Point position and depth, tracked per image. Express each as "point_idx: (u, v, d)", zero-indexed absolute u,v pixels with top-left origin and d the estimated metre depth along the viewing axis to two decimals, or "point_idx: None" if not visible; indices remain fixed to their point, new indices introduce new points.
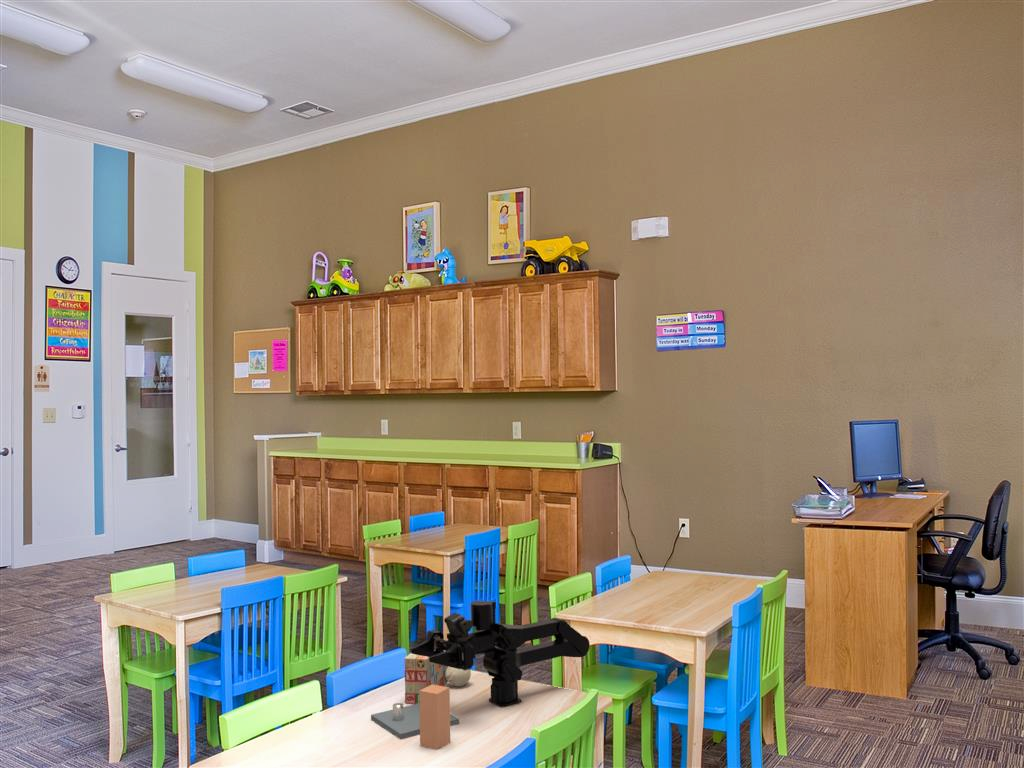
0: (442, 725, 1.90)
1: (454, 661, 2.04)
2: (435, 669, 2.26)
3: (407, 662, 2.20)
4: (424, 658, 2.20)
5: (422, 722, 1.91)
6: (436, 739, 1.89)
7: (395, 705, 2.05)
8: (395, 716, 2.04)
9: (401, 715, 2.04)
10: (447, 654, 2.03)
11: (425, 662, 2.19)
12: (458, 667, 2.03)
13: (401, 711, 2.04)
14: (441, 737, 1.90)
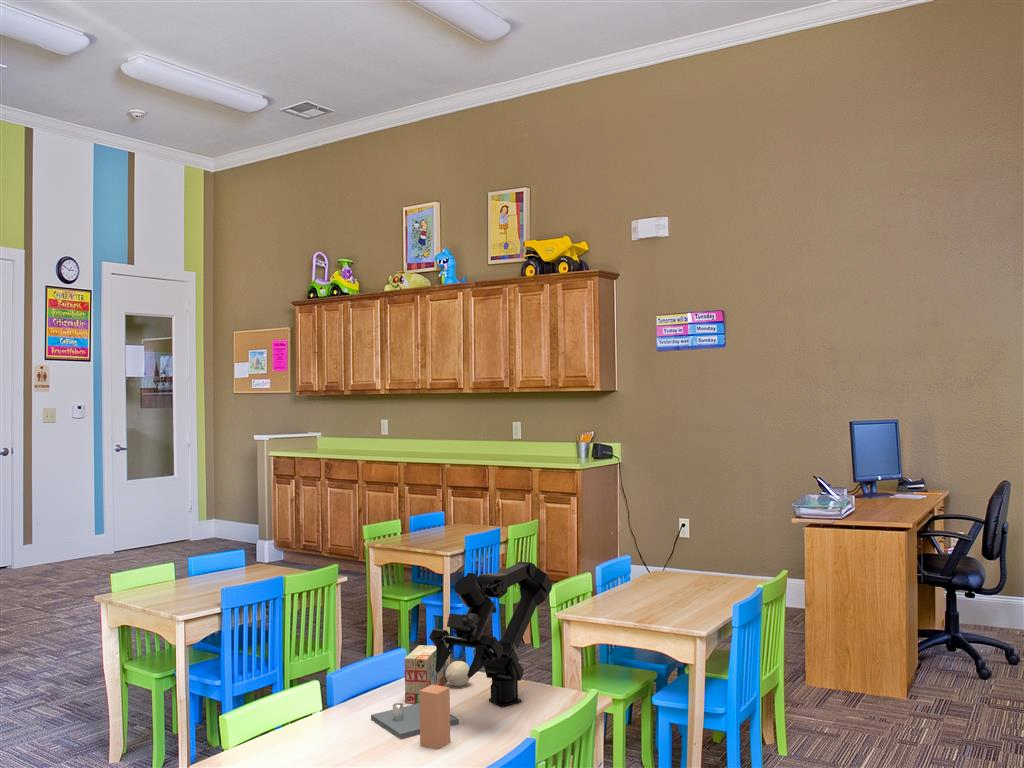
0: (442, 725, 1.90)
1: (485, 657, 2.01)
2: None
3: (407, 662, 2.20)
4: (424, 658, 2.20)
5: (422, 722, 1.91)
6: (436, 739, 1.89)
7: (395, 705, 2.05)
8: (395, 716, 2.04)
9: (401, 715, 2.04)
10: (479, 659, 1.98)
11: (425, 662, 2.19)
12: (492, 659, 2.01)
13: (401, 711, 2.04)
14: (441, 737, 1.90)
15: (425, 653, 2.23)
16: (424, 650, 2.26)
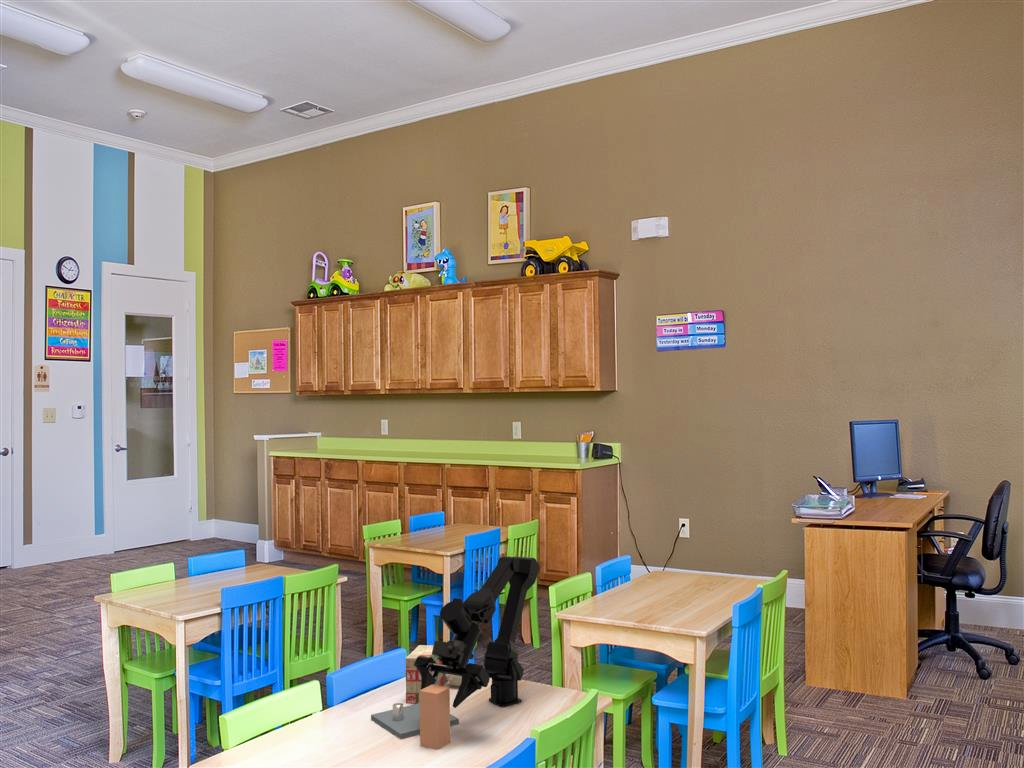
0: (442, 725, 1.90)
1: (471, 686, 1.95)
2: None
3: (408, 662, 2.20)
4: None
5: (422, 722, 1.91)
6: (436, 739, 1.89)
7: (395, 705, 2.05)
8: (395, 716, 2.04)
9: (401, 715, 2.04)
10: (464, 688, 1.92)
11: None
12: (479, 688, 1.95)
13: (401, 711, 2.04)
14: (441, 737, 1.90)
15: (425, 653, 2.24)
16: (425, 650, 2.27)
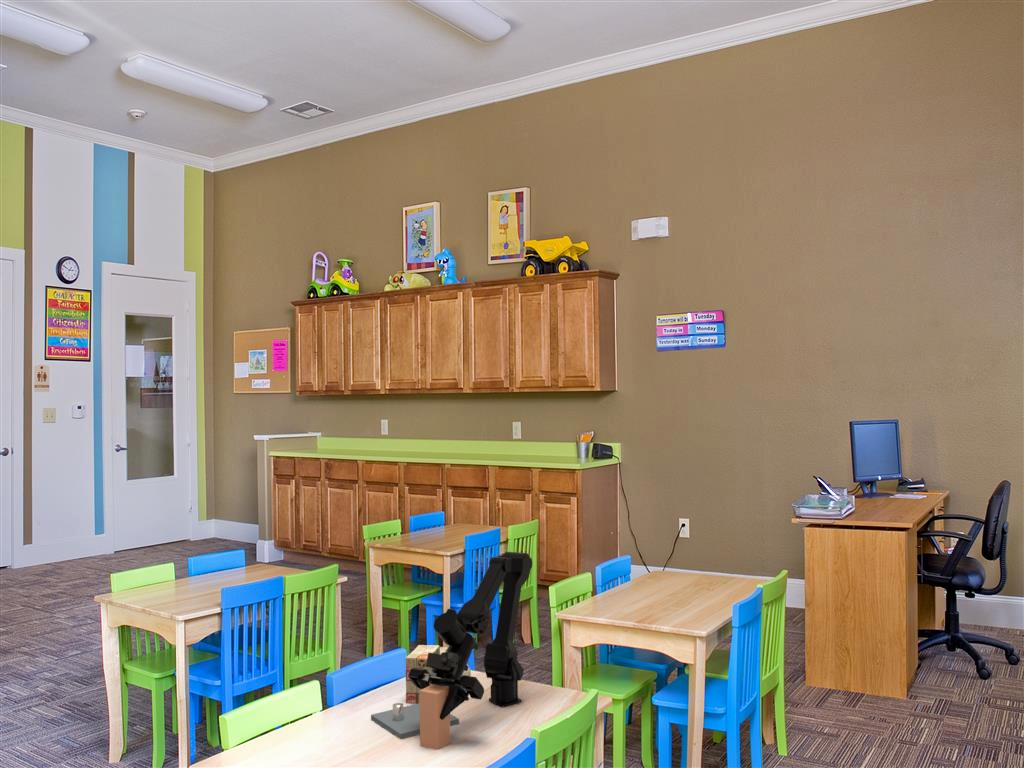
0: (442, 725, 1.90)
1: (459, 697, 1.93)
2: None
3: (408, 662, 2.20)
4: (425, 657, 2.20)
5: (422, 722, 1.91)
6: (436, 739, 1.89)
7: (395, 705, 2.05)
8: (395, 716, 2.04)
9: (401, 715, 2.04)
10: (452, 700, 1.91)
11: None
12: (466, 699, 1.94)
13: (401, 711, 2.04)
14: (441, 737, 1.90)
15: (425, 652, 2.24)
16: (425, 650, 2.27)
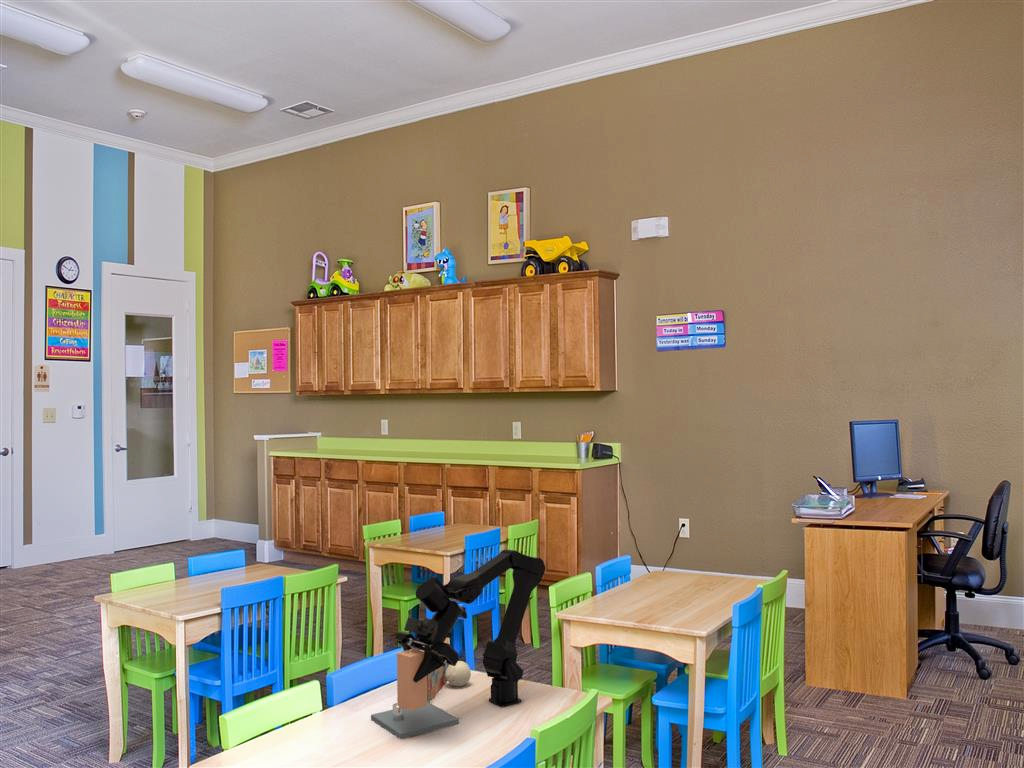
0: (416, 687, 1.96)
1: (435, 663, 1.98)
2: None
3: None
4: None
5: (399, 683, 1.97)
6: (409, 701, 1.95)
7: (395, 705, 2.05)
8: (395, 716, 2.04)
9: (401, 715, 2.04)
10: (426, 664, 1.96)
11: None
12: (442, 665, 1.98)
13: (401, 711, 2.04)
14: (415, 699, 1.95)
15: None
16: None
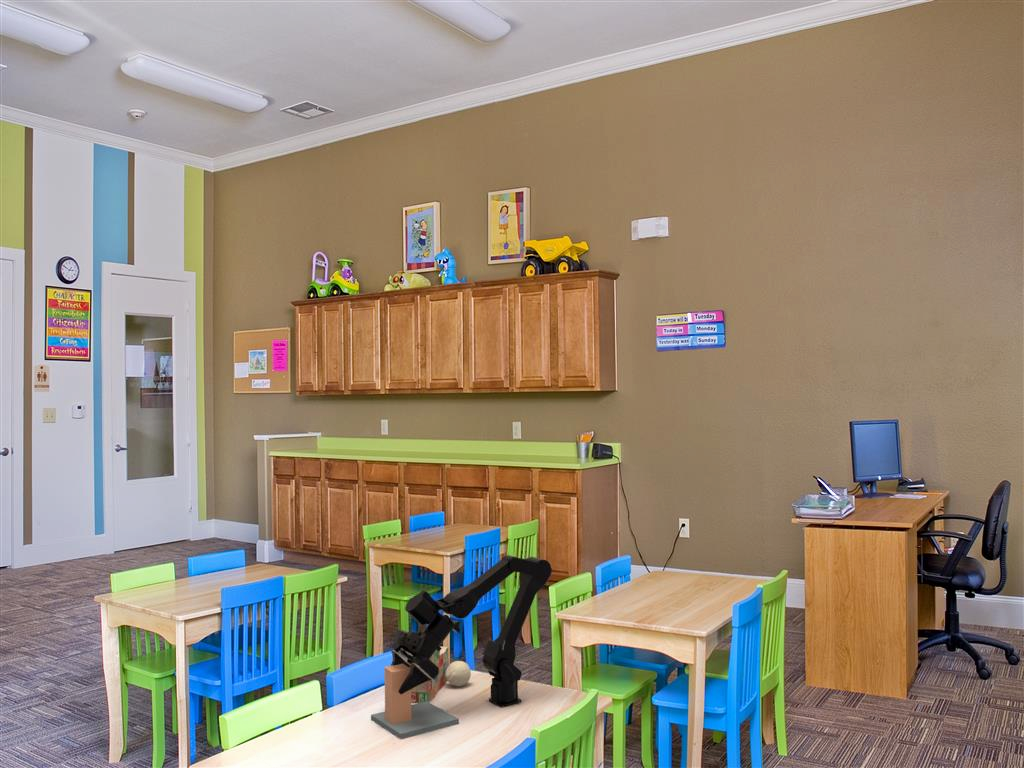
0: (399, 702, 2.02)
1: (421, 676, 2.02)
2: None
3: None
4: None
5: (385, 696, 2.05)
6: (391, 714, 2.02)
7: None
8: None
9: None
10: (411, 677, 2.00)
11: None
12: (428, 680, 2.01)
13: None
14: (397, 713, 2.02)
15: None
16: None
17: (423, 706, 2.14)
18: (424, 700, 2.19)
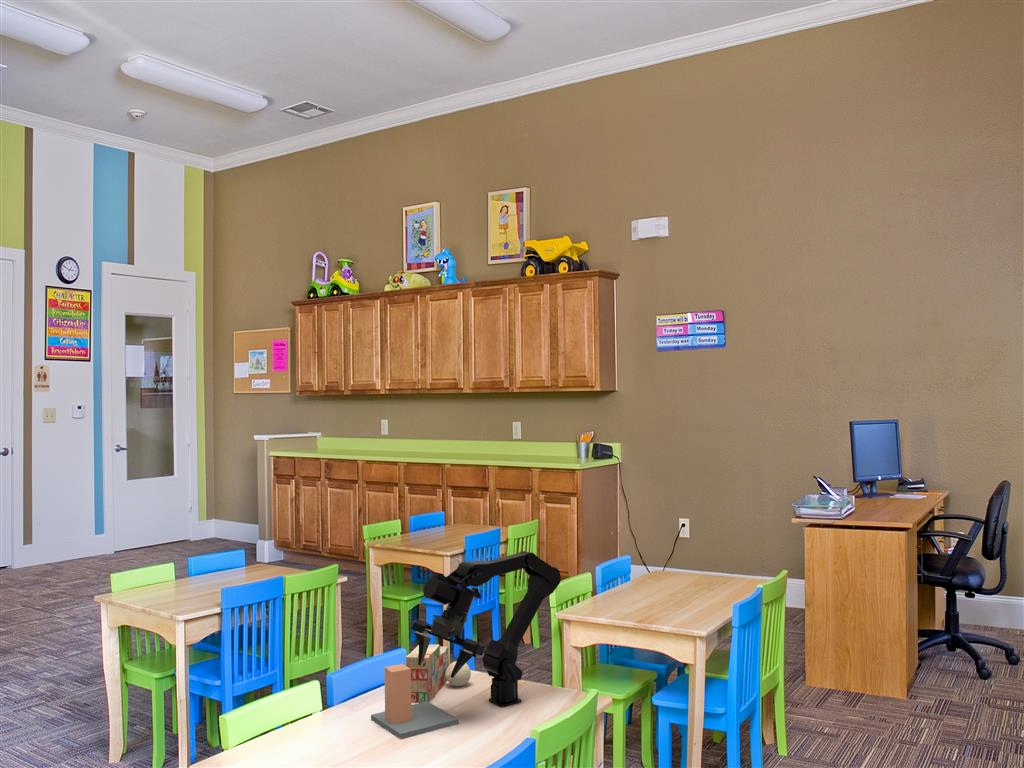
0: (399, 702, 2.02)
1: (467, 655, 2.08)
2: (436, 668, 2.27)
3: (408, 661, 2.21)
4: (425, 657, 2.21)
5: (385, 696, 2.05)
6: (391, 714, 2.02)
7: None
8: None
9: None
10: None
11: (426, 661, 2.20)
12: (474, 656, 2.09)
13: None
14: (397, 713, 2.02)
15: (426, 652, 2.25)
16: None
17: (423, 706, 2.14)
18: (424, 700, 2.20)
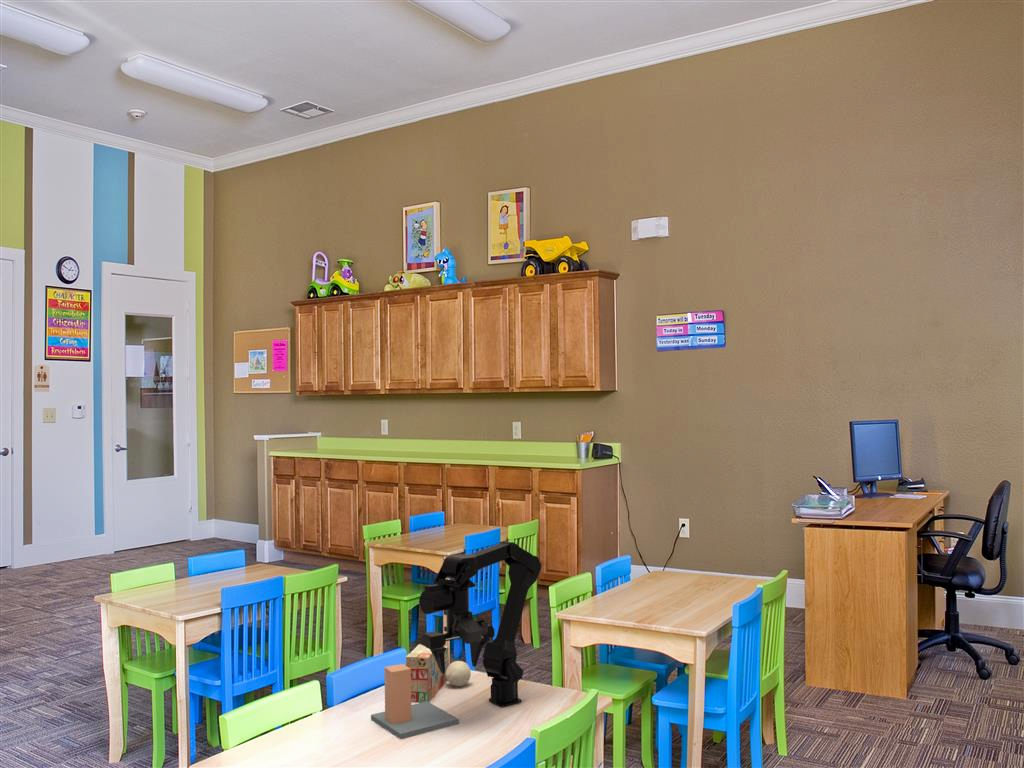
0: (399, 702, 2.02)
1: None
2: (436, 667, 2.27)
3: (408, 660, 2.21)
4: (425, 656, 2.21)
5: (385, 696, 2.05)
6: (391, 714, 2.02)
7: None
8: None
9: None
10: None
11: (426, 660, 2.20)
12: None
13: None
14: (397, 713, 2.02)
15: (426, 651, 2.25)
16: (425, 649, 2.28)
17: (423, 706, 2.14)
18: (424, 699, 2.20)
